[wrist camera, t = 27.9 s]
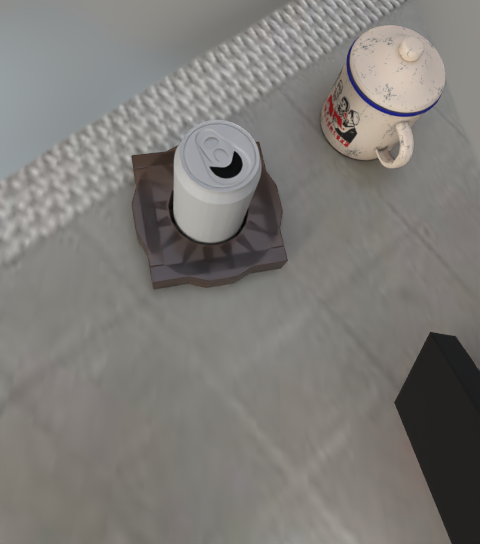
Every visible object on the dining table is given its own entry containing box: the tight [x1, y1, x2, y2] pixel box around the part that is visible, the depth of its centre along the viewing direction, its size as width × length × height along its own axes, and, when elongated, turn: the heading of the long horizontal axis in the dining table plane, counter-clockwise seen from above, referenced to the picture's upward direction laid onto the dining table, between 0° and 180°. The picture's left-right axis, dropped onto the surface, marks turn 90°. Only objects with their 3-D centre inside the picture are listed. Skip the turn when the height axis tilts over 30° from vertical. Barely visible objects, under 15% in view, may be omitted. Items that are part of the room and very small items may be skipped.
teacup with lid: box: [320, 25, 445, 168], centre depth 42 cm, size 12×9×12 cm
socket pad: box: [131, 142, 287, 289], centre depth 42 cm, size 13×13×2 cm
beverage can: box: [173, 120, 262, 246], centre depth 37 cm, size 6×6×12 cm
